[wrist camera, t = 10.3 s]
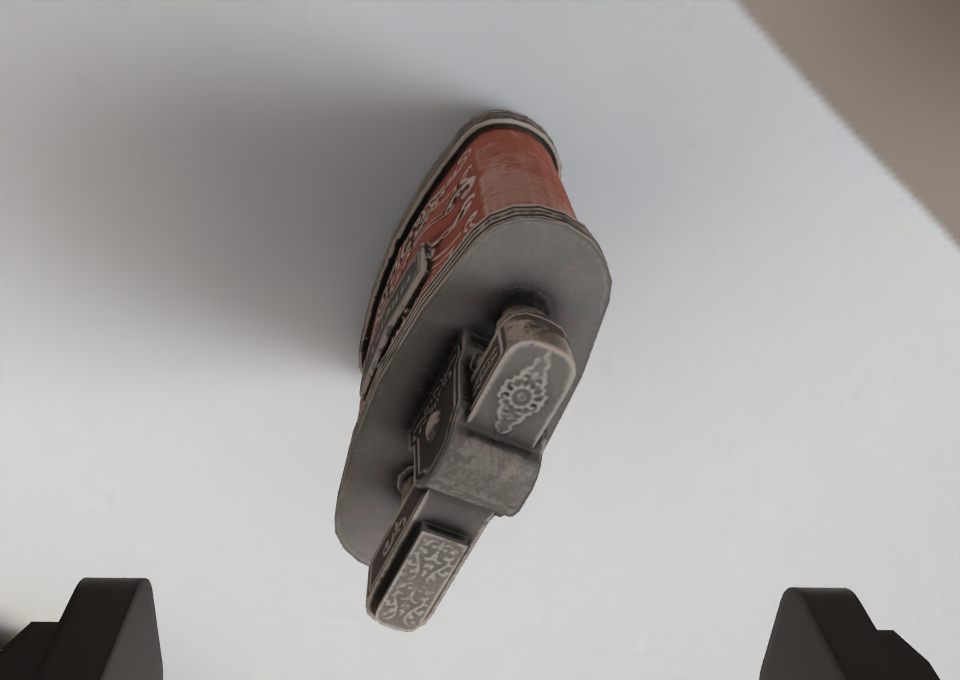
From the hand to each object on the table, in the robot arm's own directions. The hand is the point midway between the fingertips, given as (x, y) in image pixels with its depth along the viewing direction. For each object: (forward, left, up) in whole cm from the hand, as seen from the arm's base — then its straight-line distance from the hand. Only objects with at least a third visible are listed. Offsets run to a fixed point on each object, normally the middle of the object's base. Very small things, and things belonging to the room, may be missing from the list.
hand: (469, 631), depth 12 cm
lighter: (0, 0, -13) cm, 13 cm away
